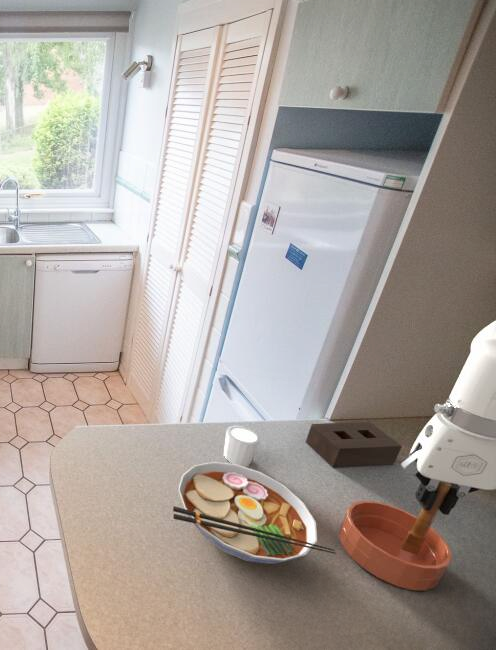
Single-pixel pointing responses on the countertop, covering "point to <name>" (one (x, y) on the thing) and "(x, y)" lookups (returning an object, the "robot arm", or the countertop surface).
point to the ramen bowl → (246, 513)
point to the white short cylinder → (240, 445)
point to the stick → (424, 521)
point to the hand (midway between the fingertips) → (431, 505)
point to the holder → (352, 444)
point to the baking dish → (392, 546)
